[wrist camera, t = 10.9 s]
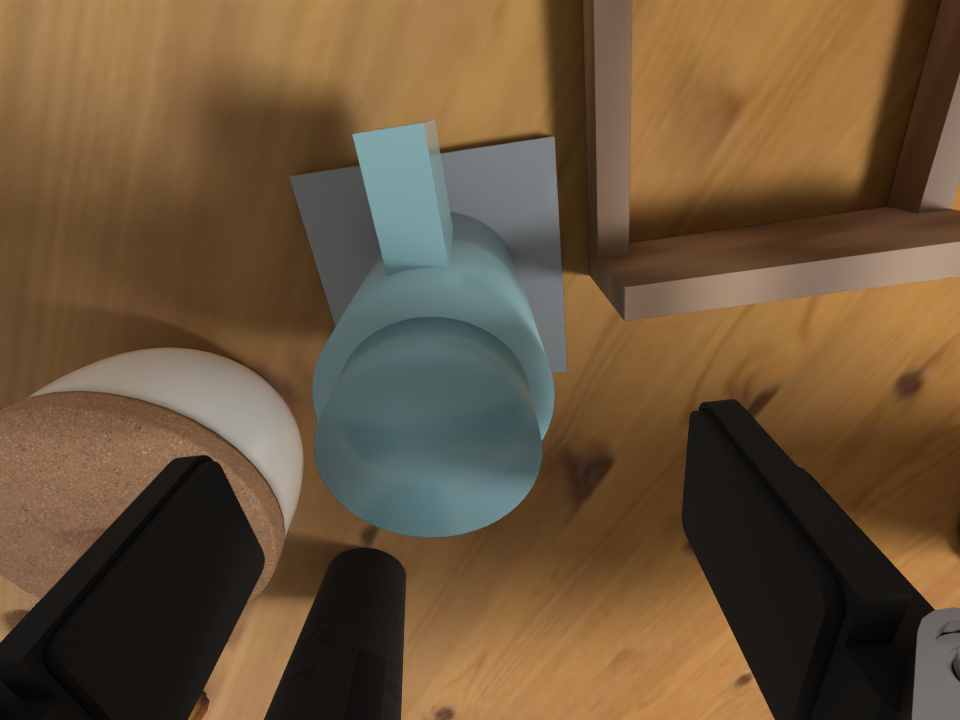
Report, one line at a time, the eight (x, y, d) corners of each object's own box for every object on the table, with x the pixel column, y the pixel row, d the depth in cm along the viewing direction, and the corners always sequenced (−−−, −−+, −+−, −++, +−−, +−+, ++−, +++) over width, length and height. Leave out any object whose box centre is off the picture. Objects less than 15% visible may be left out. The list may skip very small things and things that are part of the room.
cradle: (1016, -141, 14) (1265, -257, 10) (908, 232, 20) (1036, 265, 15) (581, -67, 15) (629, -144, 10) (590, 276, 20) (624, 321, 16)
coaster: (551, 135, 18) (554, 136, 17) (565, 365, 22) (567, 371, 22) (294, 175, 18) (288, 176, 17) (360, 392, 23) (357, 399, 22)
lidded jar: (310, 510, 26) (238, 693, 18) (105, 463, 24) (-83, 643, 16) (353, 350, 22) (281, 498, 13) (102, 276, 20) (-164, 395, 11)
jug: (500, 108, 16) (551, 105, 7) (524, 339, 21) (576, 538, 11) (335, 134, 17) (156, 168, 7) (393, 357, 21) (332, 567, 11)
